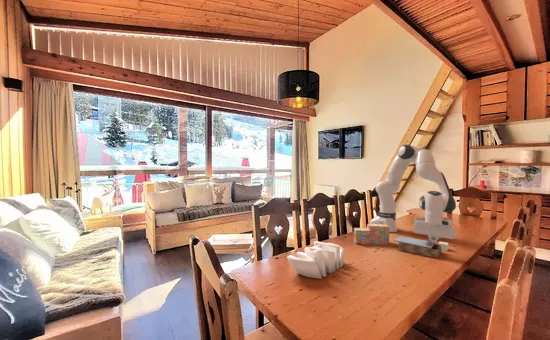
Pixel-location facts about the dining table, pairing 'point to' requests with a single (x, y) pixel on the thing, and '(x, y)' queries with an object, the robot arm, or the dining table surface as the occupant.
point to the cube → (443, 246)
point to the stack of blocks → (372, 234)
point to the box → (421, 250)
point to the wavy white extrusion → (318, 260)
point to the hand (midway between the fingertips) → (433, 243)
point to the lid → (414, 241)
